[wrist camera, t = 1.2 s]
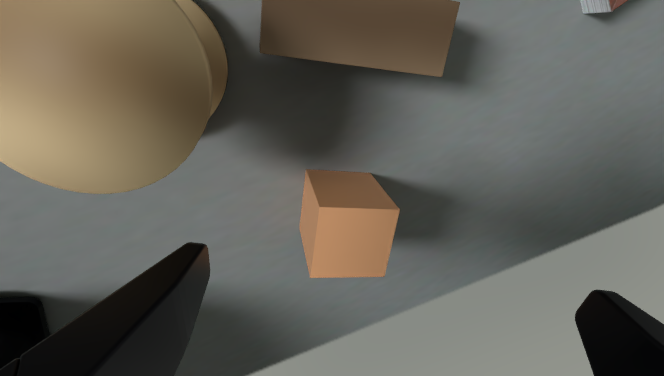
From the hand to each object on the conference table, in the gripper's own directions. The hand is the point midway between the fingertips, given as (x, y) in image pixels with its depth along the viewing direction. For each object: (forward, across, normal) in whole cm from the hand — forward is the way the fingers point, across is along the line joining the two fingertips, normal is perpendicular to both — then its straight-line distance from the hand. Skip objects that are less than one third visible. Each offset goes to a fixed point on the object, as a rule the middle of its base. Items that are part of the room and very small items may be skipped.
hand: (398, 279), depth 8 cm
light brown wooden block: (+12, +1, +6) cm, 14 cm away
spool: (+11, +11, -1) cm, 16 cm away
